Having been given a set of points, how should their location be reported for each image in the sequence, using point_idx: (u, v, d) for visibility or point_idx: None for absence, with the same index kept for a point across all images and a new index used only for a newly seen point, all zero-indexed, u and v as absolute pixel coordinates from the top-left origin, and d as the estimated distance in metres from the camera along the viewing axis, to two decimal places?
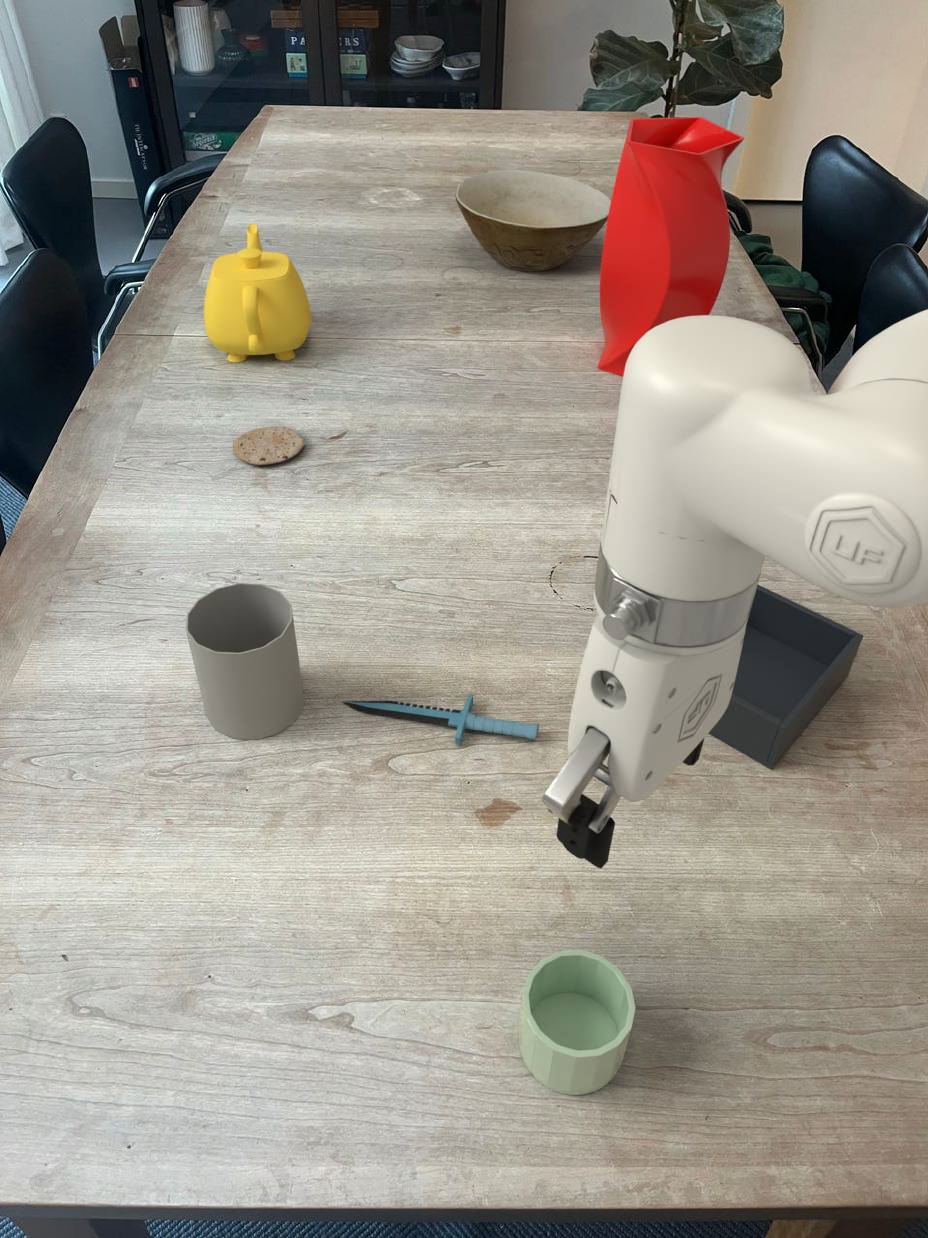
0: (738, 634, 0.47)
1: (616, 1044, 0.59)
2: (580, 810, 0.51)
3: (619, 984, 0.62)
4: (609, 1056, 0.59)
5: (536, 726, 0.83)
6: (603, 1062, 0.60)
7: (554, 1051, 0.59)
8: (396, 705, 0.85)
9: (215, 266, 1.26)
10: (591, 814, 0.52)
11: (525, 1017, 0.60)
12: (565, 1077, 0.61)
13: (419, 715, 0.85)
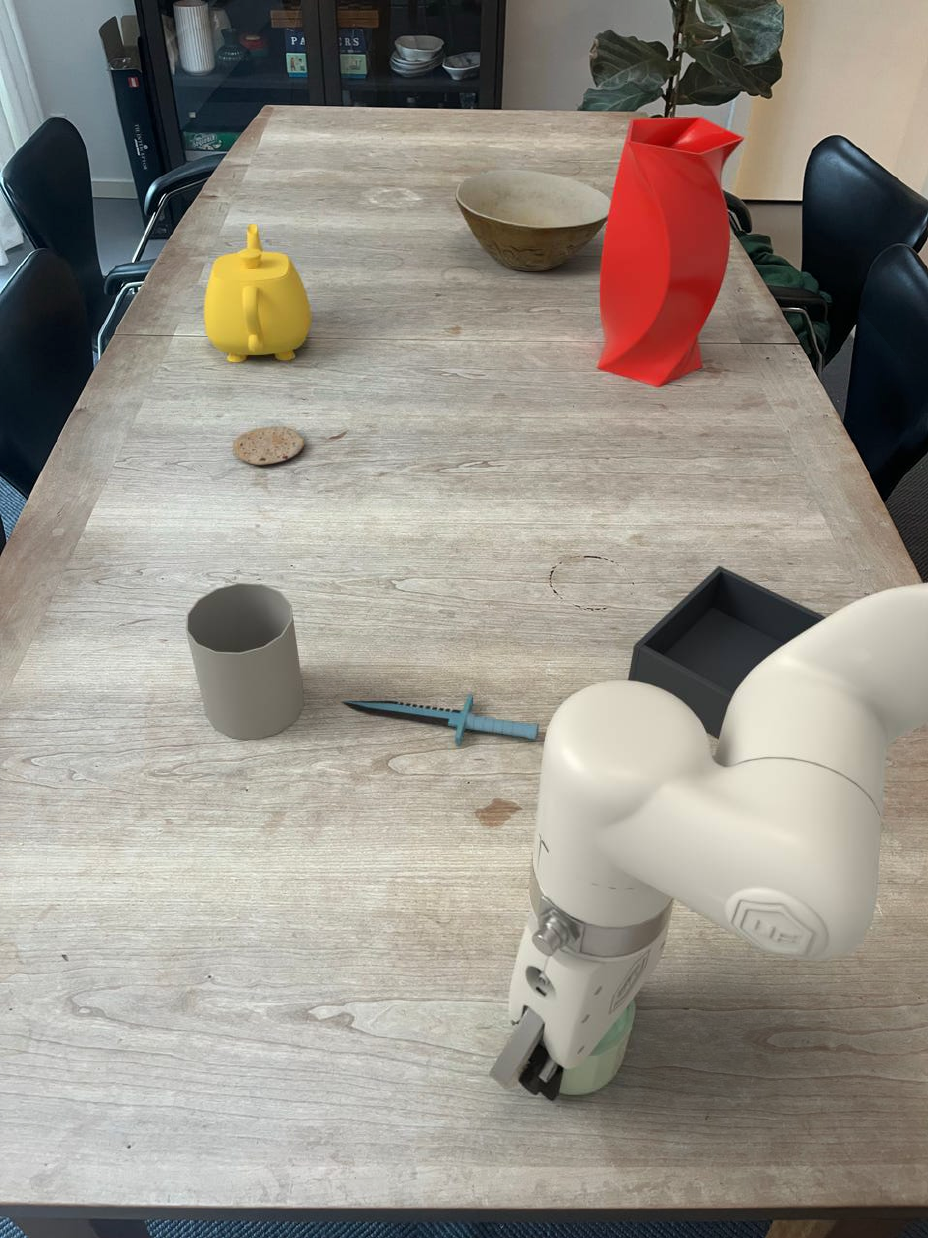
0: (658, 938, 0.51)
1: (616, 1044, 0.59)
2: (528, 1072, 0.56)
3: None
4: (609, 1056, 0.59)
5: (536, 726, 0.83)
6: (603, 1062, 0.60)
7: None
8: (396, 705, 0.85)
9: (215, 266, 1.26)
10: (539, 1070, 0.58)
11: None
12: (565, 1077, 0.61)
13: (419, 715, 0.85)
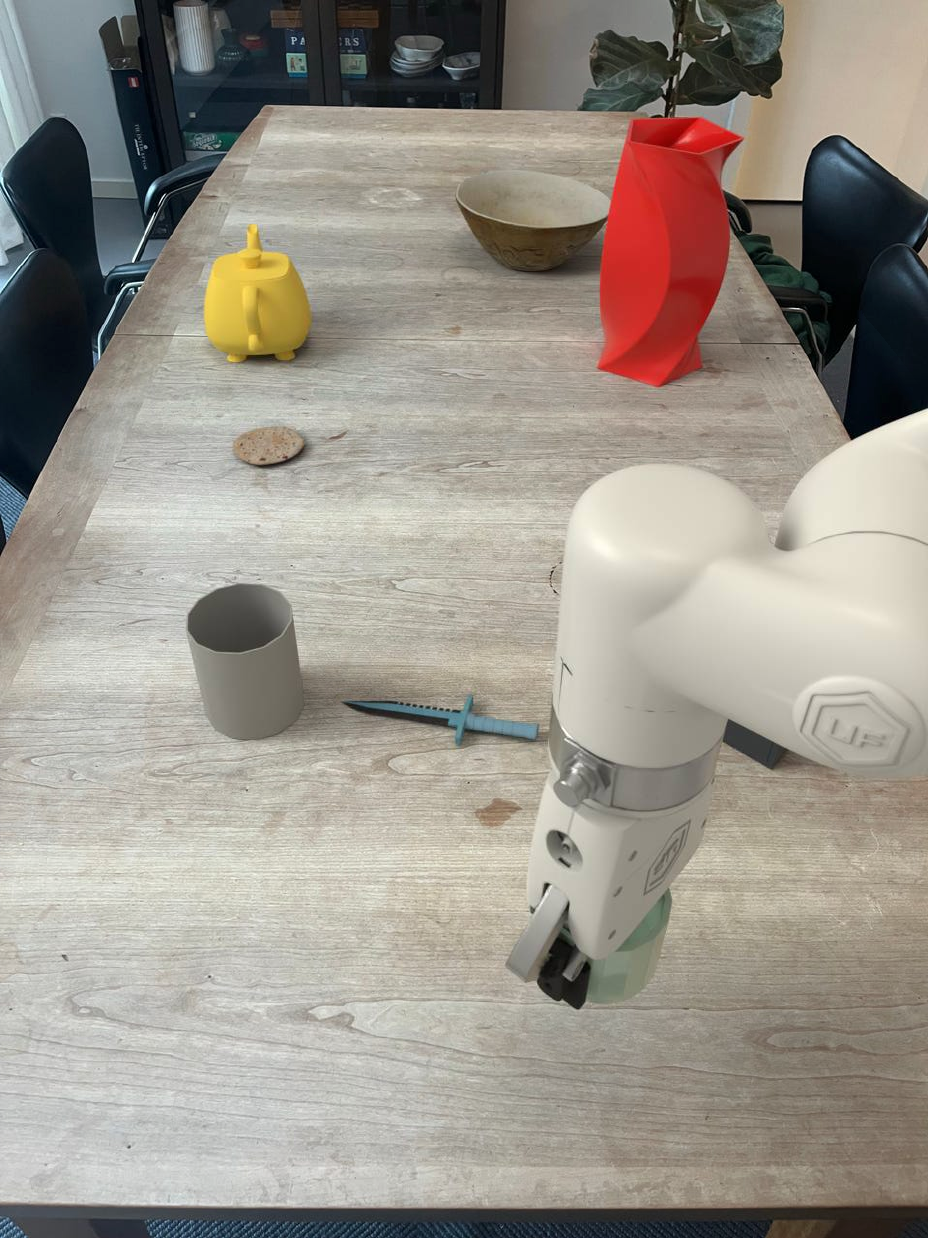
0: (703, 792, 0.43)
1: (651, 938, 0.51)
2: (550, 965, 0.48)
3: None
4: (643, 953, 0.51)
5: (536, 726, 0.83)
6: (636, 961, 0.52)
7: None
8: (396, 705, 0.85)
9: (215, 266, 1.26)
10: (563, 966, 0.50)
11: None
12: (592, 980, 0.53)
13: (419, 715, 0.85)
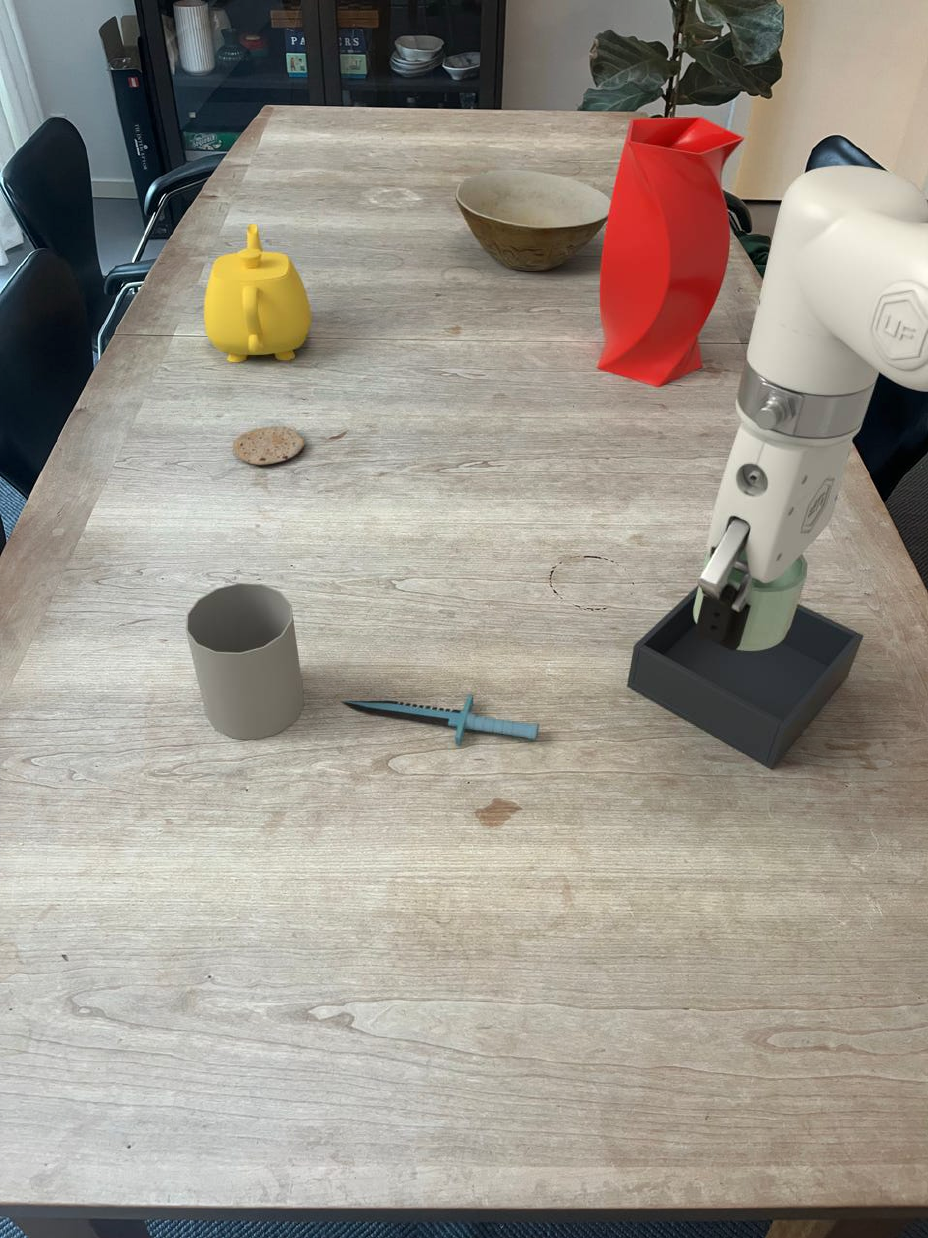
0: (856, 431, 0.59)
1: (795, 584, 0.67)
2: (728, 588, 0.64)
3: None
4: (788, 598, 0.67)
5: (536, 726, 0.83)
6: (782, 604, 0.67)
7: None
8: (396, 705, 0.85)
9: (215, 266, 1.26)
10: (733, 597, 0.65)
11: None
12: (746, 625, 0.68)
13: (419, 715, 0.85)
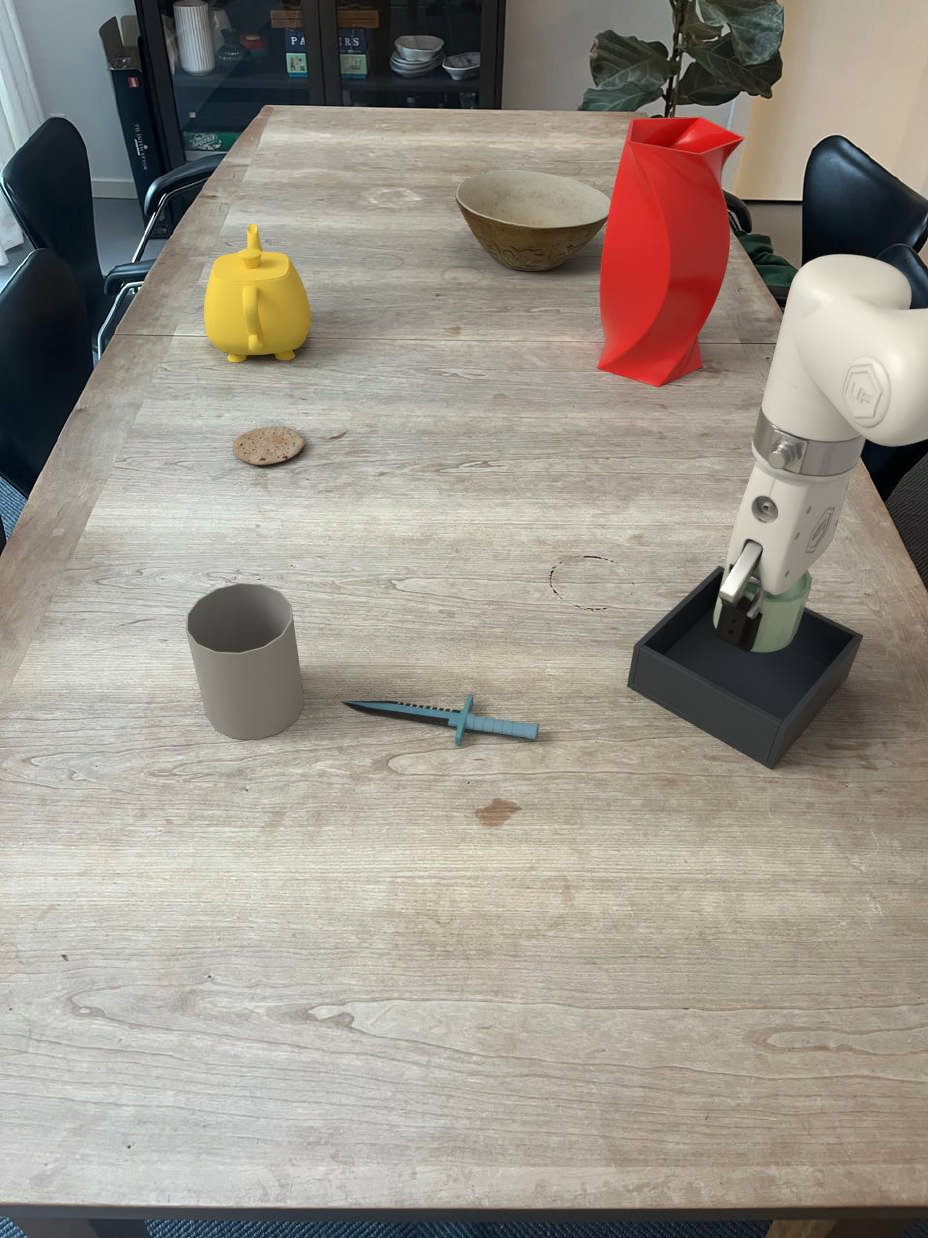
0: (853, 470, 0.71)
1: (801, 596, 0.78)
2: (744, 599, 0.75)
3: None
4: (795, 607, 0.79)
5: (536, 726, 0.83)
6: (790, 613, 0.79)
7: None
8: (396, 705, 0.85)
9: (215, 266, 1.26)
10: (747, 607, 0.77)
11: None
12: (759, 630, 0.80)
13: (419, 715, 0.85)
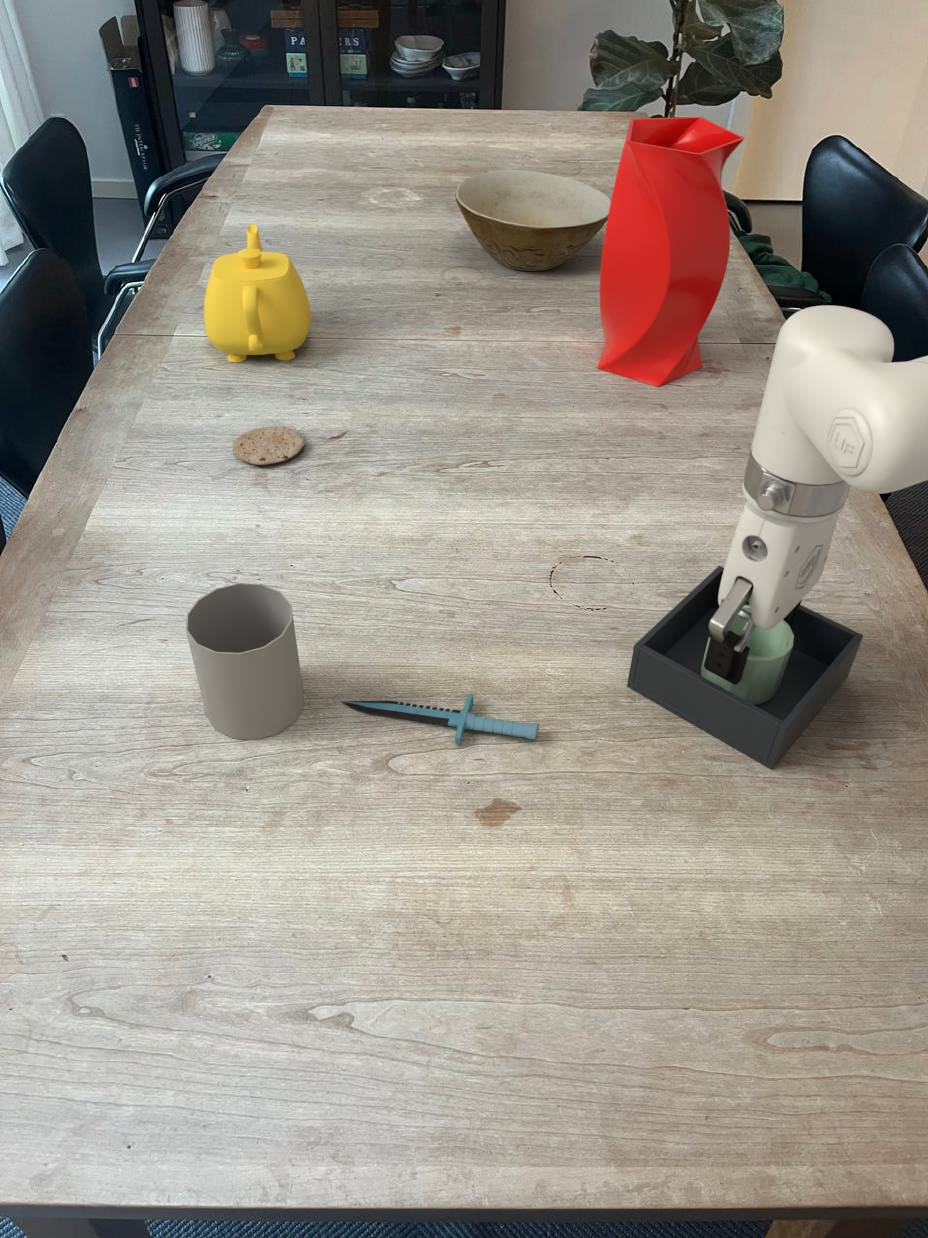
0: (839, 511, 0.73)
1: (783, 654, 0.83)
2: (731, 633, 0.77)
3: (779, 625, 0.86)
4: (777, 664, 0.83)
5: (536, 726, 0.83)
6: (772, 669, 0.83)
7: None
8: (396, 705, 0.85)
9: (215, 266, 1.26)
10: (736, 640, 0.78)
11: None
12: (743, 685, 0.84)
13: (419, 715, 0.85)
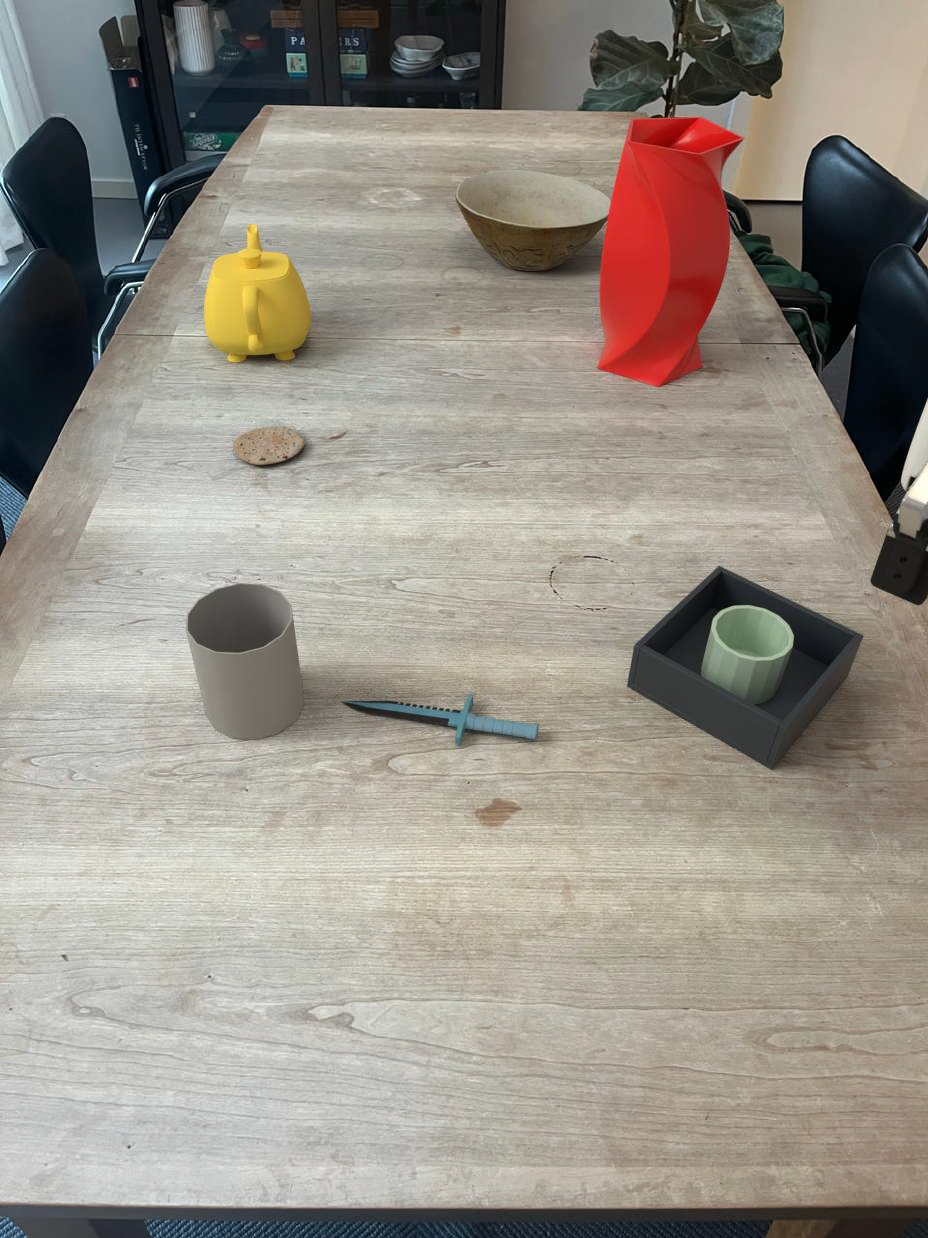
0: None
1: (783, 654, 0.83)
2: None
3: (779, 625, 0.86)
4: (777, 664, 0.83)
5: (536, 726, 0.83)
6: (772, 669, 0.83)
7: (739, 658, 0.82)
8: (396, 705, 0.85)
9: (215, 266, 1.26)
10: None
11: (715, 640, 0.84)
12: (743, 685, 0.84)
13: (419, 715, 0.85)
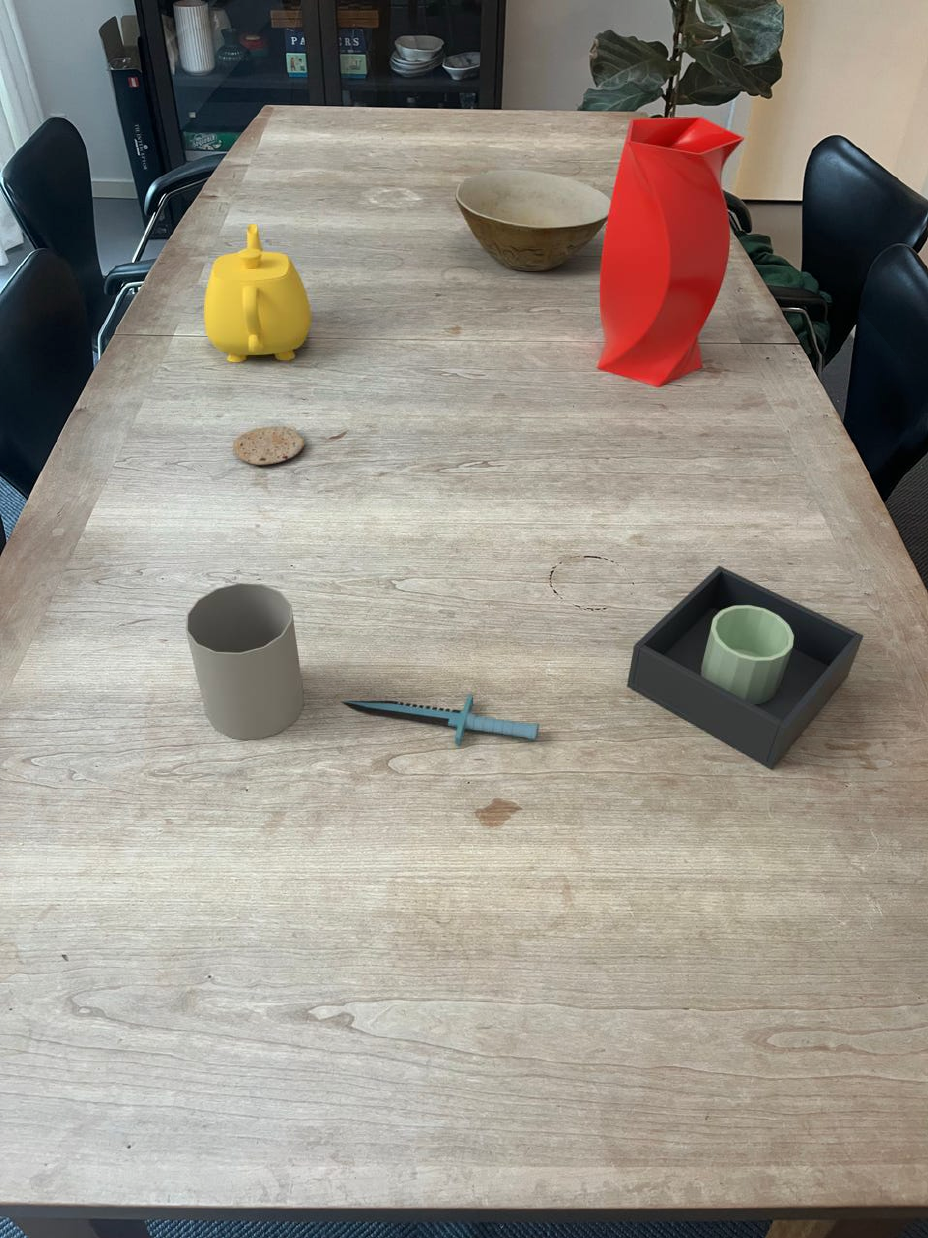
0: None
1: (783, 654, 0.83)
2: None
3: (779, 625, 0.86)
4: (777, 664, 0.83)
5: (536, 726, 0.83)
6: (772, 669, 0.83)
7: (739, 658, 0.82)
8: (396, 705, 0.85)
9: (215, 266, 1.26)
10: None
11: (715, 640, 0.84)
12: (743, 685, 0.84)
13: (419, 715, 0.85)
